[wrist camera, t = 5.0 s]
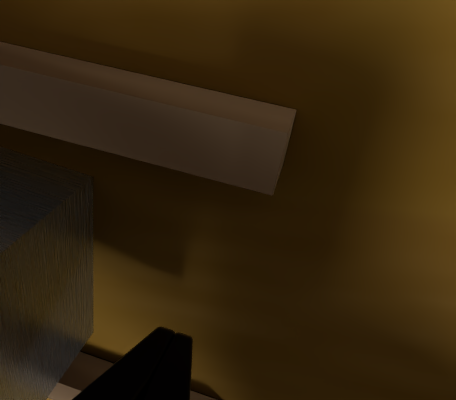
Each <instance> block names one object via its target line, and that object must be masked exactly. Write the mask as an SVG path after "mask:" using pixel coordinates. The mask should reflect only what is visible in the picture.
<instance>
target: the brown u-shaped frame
mask: <svg viewBox="0 0 456 400" xmlns="http://www.w3.org/2000/svg"><path fill="white" fill-rule="evenodd" d="M296 111H297V110H295V109H291V108H287V107H282V106H278V105H274V104H269V103H265V102H261V101H256V100H252V99H248V98H243V97H239V96H234V95H230V94H226V93H221V92H217V91H213V90H208V89H204V88H200V87H195V86H191V85H187V84H182V83H178V82H173V81H169V80H165V79H160V78H156V77H152V76H147V75H143V74H139V73H134V72H130V71H126V70H121V69H117V68H112V67H108V66H104V65H99V64H95V63H91V62H86V61H82V60H78V59H73V58H69V57H65V56H60V55H56V54H51V53H47V52H43V51H38V50H34V49H30V48H25V47H21V46H17V45H12V44H8V43H4V42H0V124H3V125H7V126H11V127H15V128H18V129H22V130H26V131H30V132H33V133H37V134H41V135H45V136H49V137H52V138H56V139H60V140H64V141H67V142H71V143H75V144H79V145H83V146H86V147H90V148H94V149H98V150H101V151H105V152H109V153H113V154H117V155H120V156H124V157H128V158H132V159H136V160H139V161H143V162H147V163H151V164H154V165H158V166H162V167H166V168H170V169H173V170H177V171H181V172H185V173H188V174H192V175H196V176H200V177H204V178H207V179H211V180H215V181H219V182H222V183H226V184H230V185H234V186H238V187H241V188H245V189H249V190H253V191H257V192H260V193H264V194H268V195H272V196H273V193H274V190H275V188H276V185H277V182H278V179H279V176H280V173H281V170H282V167H283V163H284V159H285V155H286V151H287V147H288V143H289V139H290V135H291V131H292V127H293V123H294V119H295V115H296ZM112 365H113V363H111V362H108V361H105V360H102V359H99V358H96V357H93V356H91V355H88V354H85V353H82V352H79V353H78V355H77V356H76V358H75V359H74V360H73V362H72V363H71V365H70V366H69V368H68V369H67V370H66V372H65V373H64V375H63V376H62V378H61V379H60V380H59V382H58V383H57V385H56V386H55V388H54V389H53V390H52V392H51V393H50V395H49V396H48V398H50V399H53V400H72V399H73V398H74V397H75V396H77V395H78V394H79V393H80V392H81V391H83V390H84V389H85V388H86V387H87V386H88V385H90V384H91V383H92V382H93V381H94V380H96V379H97V378H98V377H99V376H100V375H102V374H103V373H104V372H105V371H106V370H107V369H109V368H110V367H111V366H112ZM190 400H216V399H214V398H211V397H208V396H205V395H202V394H199V393H196V392H194V391H191V390H190Z"/></svg>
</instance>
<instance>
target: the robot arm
mask: <svg viewBox="0 0 456 400" xmlns="http://www.w3.org/2000/svg"><path fill="white" fill-rule="evenodd" d="M192 344H193V339H192V337H191V336H189V335H186V334H183V333H179V332H178V333H176V334H175V331H173V330H170V329H167V328H164V327H158V328H156V329H155V330H154V331H153V332H151V333H150V334H149V335H148V336H147V337H146V338H144V339H143V340H142V341H141V342H140V343H138V344H137V345H136V346H135V347H134V348H132V349H131V350H130V351H129V352H128V353H126V354H125V355H124V356H123V357H122V358H121V359H119V360H118V361H117V362H116V363H115V364H113V365H112V366H111V367H110V368H109V369H107V370H106V371H105V372H104V373H103V374H102V375H100V376H99V377H98V378H97V379H96V380H94V381H93V382H92V383H91V384H90V385H88V386H87V387H86V388H85V389H84V390H83V391H81V392H80V393H79V394H78V395H77V396H75V397H74V398H73V399H72V400H190V389H191V366H192Z"/></svg>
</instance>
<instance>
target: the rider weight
mask: <svg viewBox="0 0 456 400" xmlns="http://www.w3.org/2000/svg"><path fill="white" fill-rule="evenodd" d="M92 333H93V177H92V176H89V175H86V174H83V173H80V172H77V171H74V170H71V169H67V168H64V167H61V166H58V165H55V164H52V163H49V162H46V161H43V160H40V159H37V158H34V157H31V156H28V155H24V154H21V153H18V152H15V151H12V150H9V149H6V148H3V147H0V400H46V399H47V398H48V396H49V395H50V393H51V392H52V390H53V389H54V388H55V386H56V385H57V383H58V382H59V380H60V379H61V378H62V376H63V375H64V373H65V372H66V370H67V369H68V368H69V366H70V365H71V363H72V362H73V360H74V359H75V358H76V356H77V355H78V353H79V352H80V350H81V349H82V347H83V346H84V345H85V343H86V342H87V340H88V339H89V337H90V336H91V335H92Z"/></svg>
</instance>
